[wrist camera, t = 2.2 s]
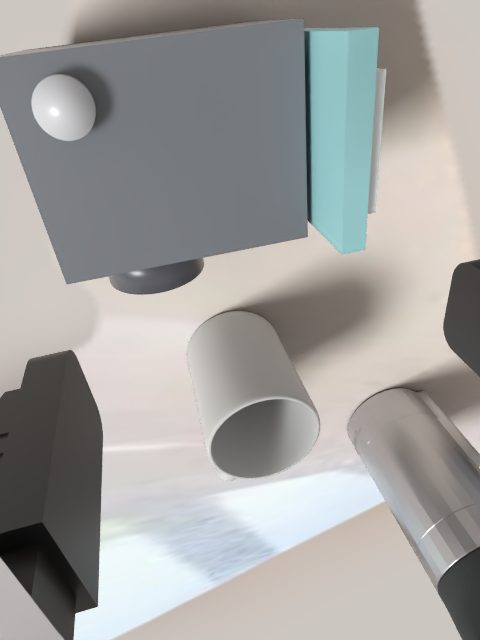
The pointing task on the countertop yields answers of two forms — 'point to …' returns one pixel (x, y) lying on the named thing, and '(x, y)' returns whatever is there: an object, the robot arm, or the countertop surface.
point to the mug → (249, 398)
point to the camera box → (162, 147)
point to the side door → (343, 131)
